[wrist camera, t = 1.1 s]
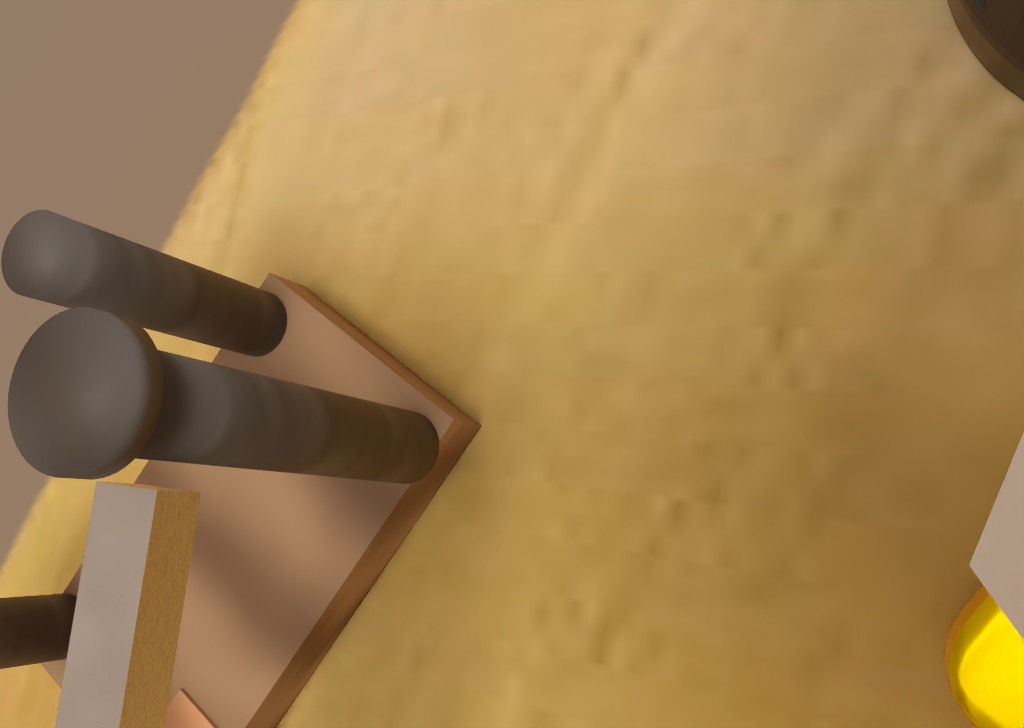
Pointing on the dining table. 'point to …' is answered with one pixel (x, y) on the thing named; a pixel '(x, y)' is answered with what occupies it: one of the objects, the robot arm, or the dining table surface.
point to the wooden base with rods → (222, 454)
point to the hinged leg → (128, 607)
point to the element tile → (986, 664)
